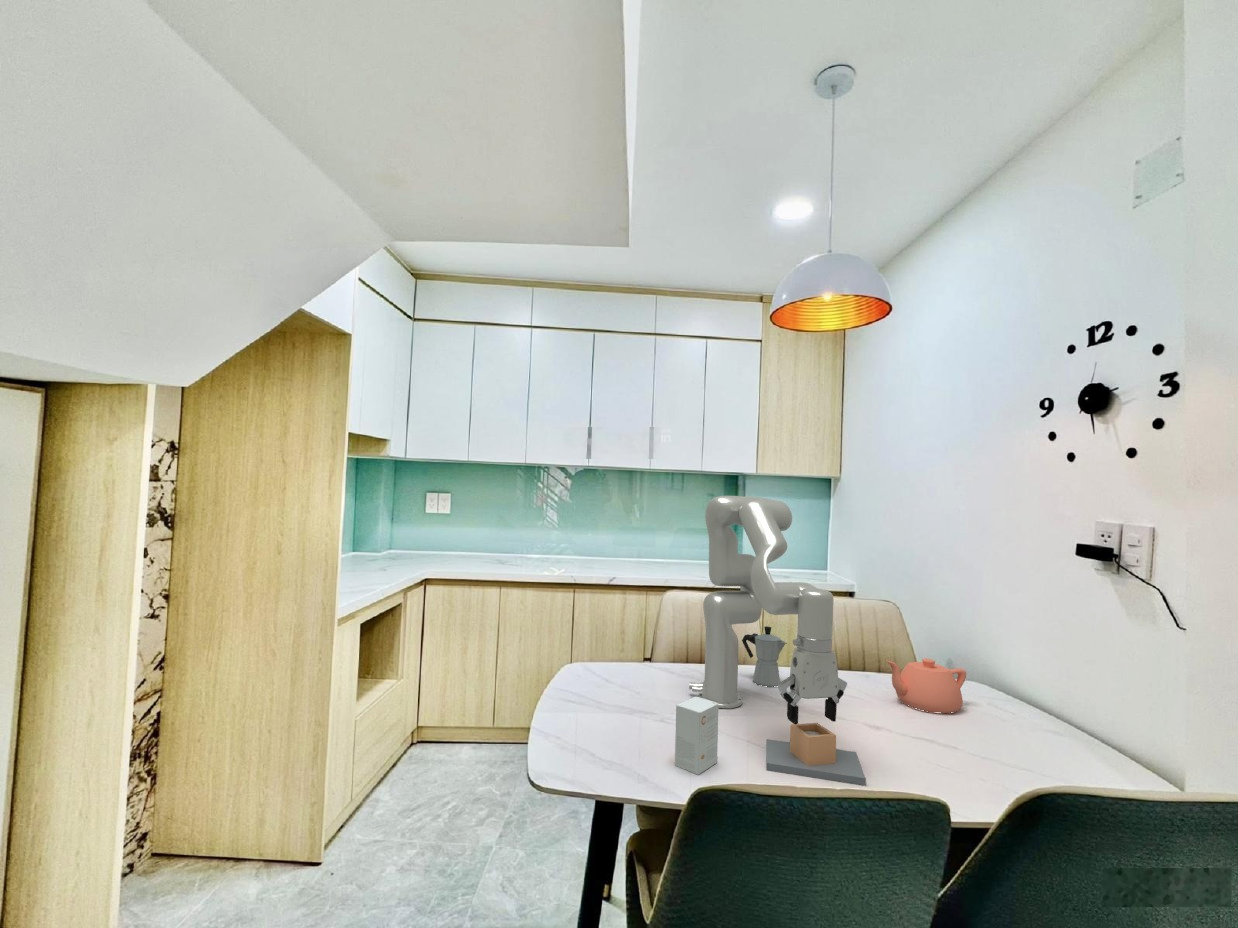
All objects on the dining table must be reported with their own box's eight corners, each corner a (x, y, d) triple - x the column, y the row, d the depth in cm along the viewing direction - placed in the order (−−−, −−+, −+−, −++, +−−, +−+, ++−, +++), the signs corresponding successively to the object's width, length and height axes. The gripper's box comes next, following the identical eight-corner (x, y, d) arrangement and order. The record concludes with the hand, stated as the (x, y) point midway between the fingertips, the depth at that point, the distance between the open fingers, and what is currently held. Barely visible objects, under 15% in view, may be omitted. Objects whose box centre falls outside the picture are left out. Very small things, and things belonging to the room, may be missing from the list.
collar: (807, 765, 121) (808, 737, 122) (789, 751, 128) (790, 724, 129) (835, 763, 123) (836, 735, 124) (816, 749, 130) (817, 722, 130)
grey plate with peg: (766, 770, 122) (767, 739, 122) (766, 745, 134) (767, 717, 135) (865, 785, 117) (865, 753, 117) (855, 758, 129) (856, 729, 130)
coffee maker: (789, 683, 182) (791, 627, 183) (782, 690, 175) (783, 632, 176) (745, 674, 190) (747, 620, 191) (736, 681, 183) (738, 625, 184)
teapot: (901, 715, 158) (902, 667, 159) (870, 694, 175) (870, 651, 176) (985, 716, 160) (985, 668, 161) (946, 695, 177) (946, 652, 178)
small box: (693, 753, 128) (695, 695, 129) (717, 763, 124) (719, 702, 125) (673, 765, 122) (675, 704, 123) (698, 775, 118) (700, 712, 119)
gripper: (789, 650, 122) (786, 730, 121) (857, 647, 126) (855, 725, 125) (771, 640, 129) (768, 716, 128) (836, 638, 133) (834, 711, 133)
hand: (811, 720), depth 127 cm, fingers open, 9 cm apart
